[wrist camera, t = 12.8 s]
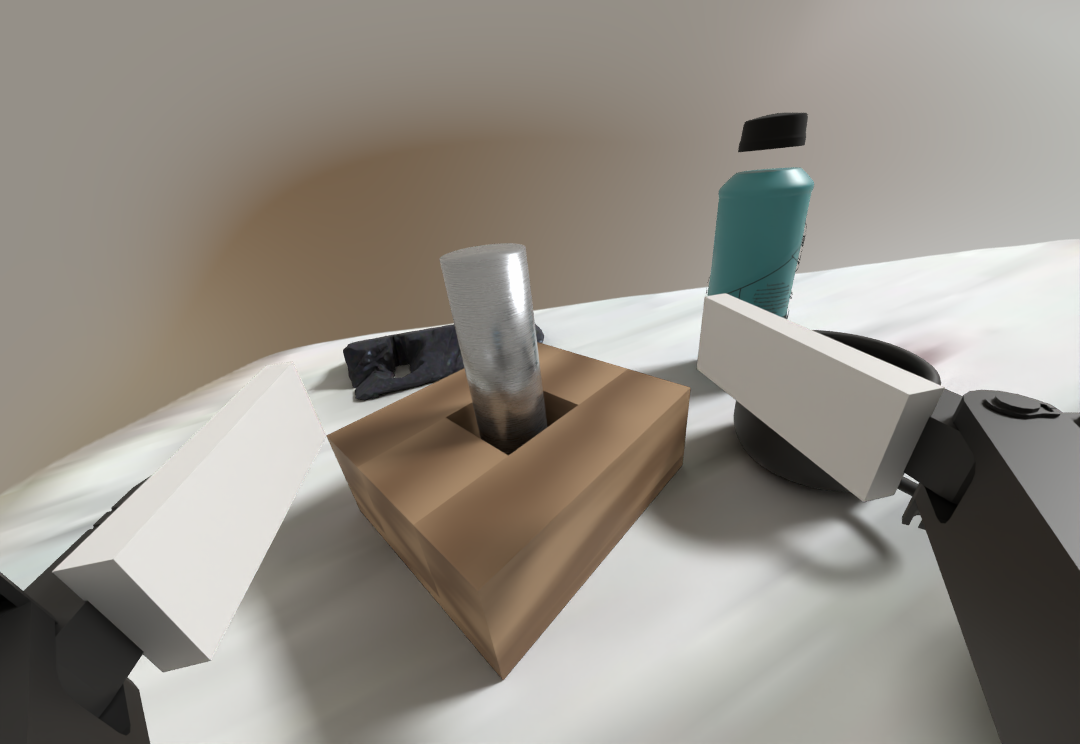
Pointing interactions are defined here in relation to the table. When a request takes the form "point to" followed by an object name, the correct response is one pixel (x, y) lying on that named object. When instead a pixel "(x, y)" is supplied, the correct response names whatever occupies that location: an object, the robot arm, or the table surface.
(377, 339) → the dark slate chunk
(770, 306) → the beverage bottle
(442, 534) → the block
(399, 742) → the table surface
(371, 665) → the table surface
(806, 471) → the mug
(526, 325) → the pin
